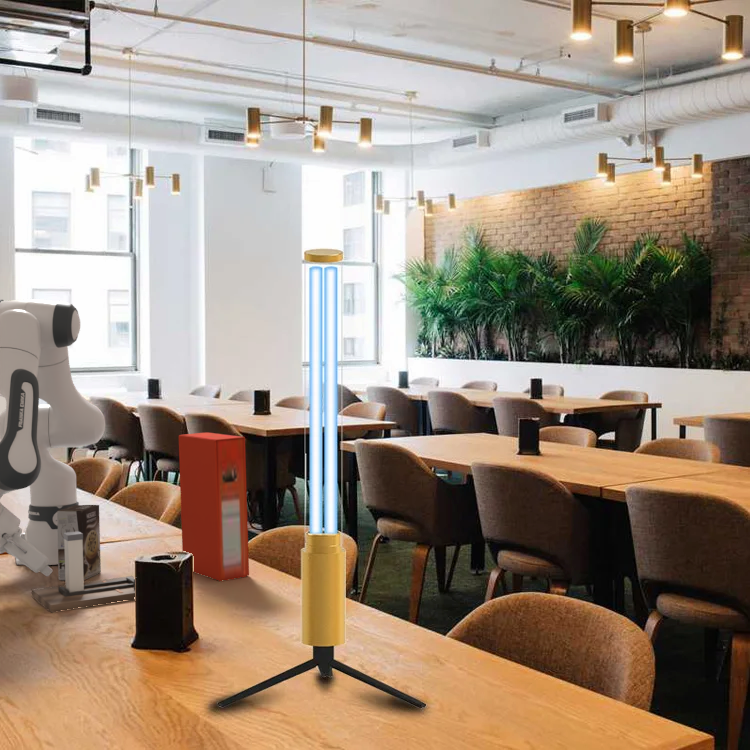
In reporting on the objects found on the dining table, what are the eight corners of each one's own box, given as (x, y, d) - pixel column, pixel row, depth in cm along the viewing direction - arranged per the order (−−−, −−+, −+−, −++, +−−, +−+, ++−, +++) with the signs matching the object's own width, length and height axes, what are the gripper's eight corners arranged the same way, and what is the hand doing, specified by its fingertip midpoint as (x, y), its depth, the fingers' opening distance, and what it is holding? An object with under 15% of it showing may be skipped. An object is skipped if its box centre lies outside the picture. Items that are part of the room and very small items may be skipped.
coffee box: (83, 581, 237) (81, 510, 237) (57, 580, 239) (55, 510, 238) (102, 572, 246) (100, 504, 246) (76, 571, 247) (75, 503, 247)
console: (31, 596, 224) (31, 580, 224) (132, 582, 235) (131, 566, 235) (51, 612, 210) (50, 595, 210) (156, 596, 222) (156, 580, 222)
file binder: (218, 581, 234) (214, 439, 233) (181, 569, 248) (178, 434, 247) (249, 576, 239) (245, 436, 238) (212, 564, 253) (208, 432, 252)
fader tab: (65, 590, 221) (63, 533, 221) (80, 588, 223) (78, 531, 222) (69, 593, 219) (67, 535, 218) (84, 591, 220) (82, 533, 220)
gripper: (21, 526, 205) (72, 569, 210) (-2, 512, 222) (47, 552, 228) (-2, 551, 202) (51, 594, 208) (-23, 535, 220) (26, 575, 225)
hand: (48, 572), depth 218 cm, fingers closed
